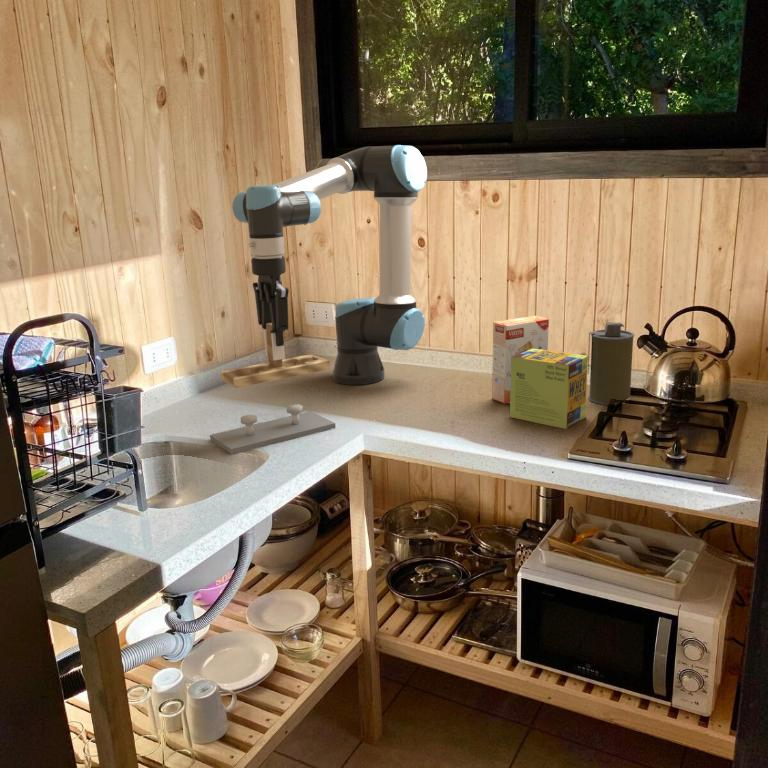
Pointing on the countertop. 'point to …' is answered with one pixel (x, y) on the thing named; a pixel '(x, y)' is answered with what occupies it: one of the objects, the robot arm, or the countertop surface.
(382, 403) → the countertop surface
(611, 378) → the canister
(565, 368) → the protein box
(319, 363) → the ball track frame
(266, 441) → the board
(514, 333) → the cracker box
